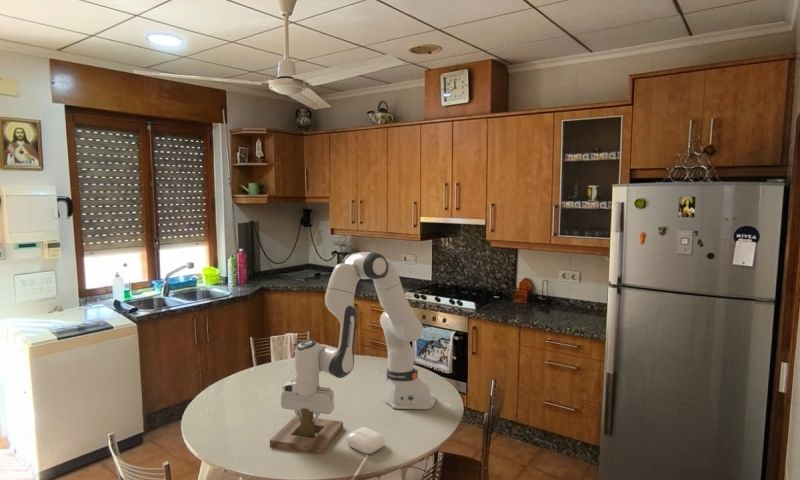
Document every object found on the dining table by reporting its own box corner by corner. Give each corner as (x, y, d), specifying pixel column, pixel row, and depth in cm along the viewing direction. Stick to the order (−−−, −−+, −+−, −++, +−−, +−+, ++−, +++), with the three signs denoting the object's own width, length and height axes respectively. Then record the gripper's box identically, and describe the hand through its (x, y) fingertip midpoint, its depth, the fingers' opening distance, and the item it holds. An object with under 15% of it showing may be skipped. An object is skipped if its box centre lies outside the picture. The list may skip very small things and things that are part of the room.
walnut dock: (343, 429, 183) (343, 421, 183) (321, 455, 164) (321, 447, 164) (296, 422, 189) (295, 415, 188) (269, 448, 169) (269, 439, 169)
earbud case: (363, 436, 178) (363, 422, 178) (388, 447, 170) (388, 433, 170) (342, 446, 171) (342, 432, 170) (368, 459, 162) (368, 444, 162)
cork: (316, 430, 180) (317, 402, 178) (313, 438, 174) (314, 409, 172) (300, 429, 179) (300, 401, 178) (297, 438, 173) (297, 409, 172)
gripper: (336, 385, 175) (337, 421, 176) (286, 379, 180) (287, 414, 182) (329, 391, 169) (330, 429, 170) (278, 386, 174) (279, 422, 176)
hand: (307, 421), depth 176 cm, fingers closed on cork, 4 cm apart
